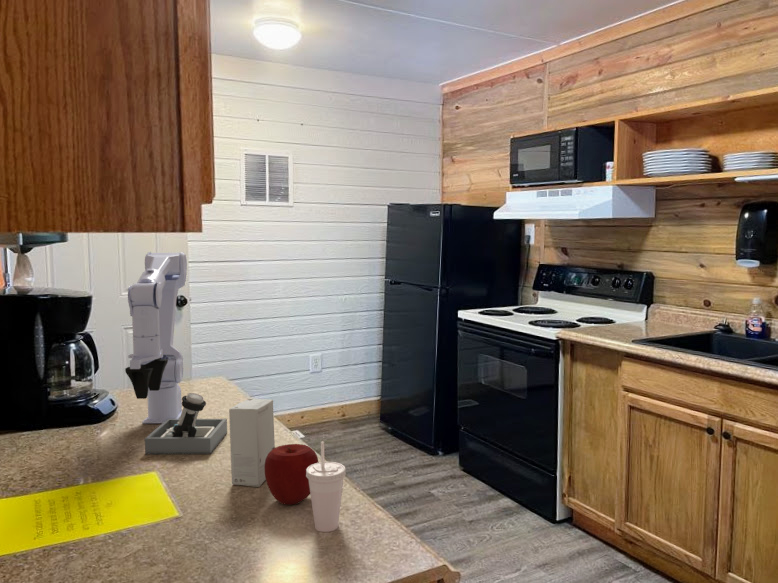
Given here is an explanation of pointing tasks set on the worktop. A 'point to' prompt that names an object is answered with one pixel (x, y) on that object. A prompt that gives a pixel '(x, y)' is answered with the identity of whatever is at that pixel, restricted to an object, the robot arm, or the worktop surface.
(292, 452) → the apple
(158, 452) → the grey square tray
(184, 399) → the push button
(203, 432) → the cream rectangular frame
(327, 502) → the smoothie
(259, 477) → the skincare box
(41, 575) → the worktop surface
